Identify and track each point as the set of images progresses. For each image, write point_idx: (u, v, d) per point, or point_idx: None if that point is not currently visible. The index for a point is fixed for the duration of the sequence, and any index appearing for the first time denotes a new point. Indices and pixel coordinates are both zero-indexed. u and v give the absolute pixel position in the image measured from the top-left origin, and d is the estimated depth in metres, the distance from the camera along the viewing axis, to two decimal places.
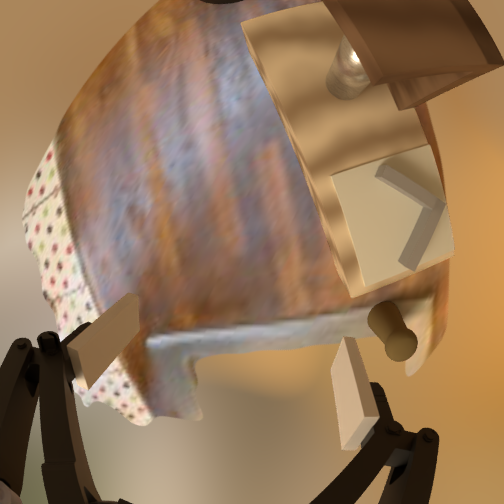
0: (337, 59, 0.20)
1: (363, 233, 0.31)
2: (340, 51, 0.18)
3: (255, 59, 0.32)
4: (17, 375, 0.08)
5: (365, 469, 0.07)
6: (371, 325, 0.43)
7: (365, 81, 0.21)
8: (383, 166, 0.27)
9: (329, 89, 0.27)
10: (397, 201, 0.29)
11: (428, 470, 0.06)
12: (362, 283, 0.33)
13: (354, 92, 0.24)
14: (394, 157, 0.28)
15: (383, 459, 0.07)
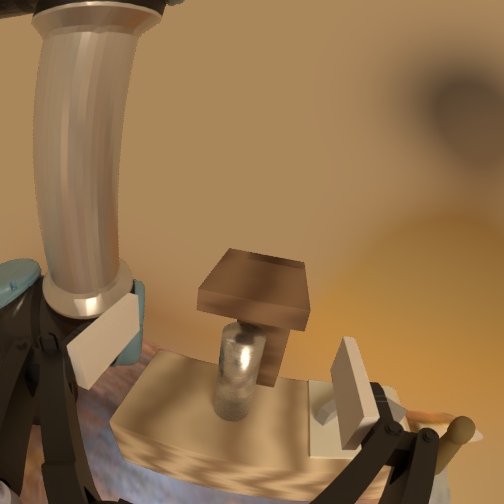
0: (231, 377, 0.27)
1: None
2: (231, 365, 0.26)
3: (142, 455, 0.26)
4: (17, 375, 0.08)
5: (365, 469, 0.07)
6: (438, 469, 0.26)
7: (257, 375, 0.28)
8: (319, 412, 0.29)
9: (231, 418, 0.29)
10: None
11: (428, 470, 0.06)
12: None
13: (251, 398, 0.29)
14: (311, 406, 0.32)
15: (383, 459, 0.07)
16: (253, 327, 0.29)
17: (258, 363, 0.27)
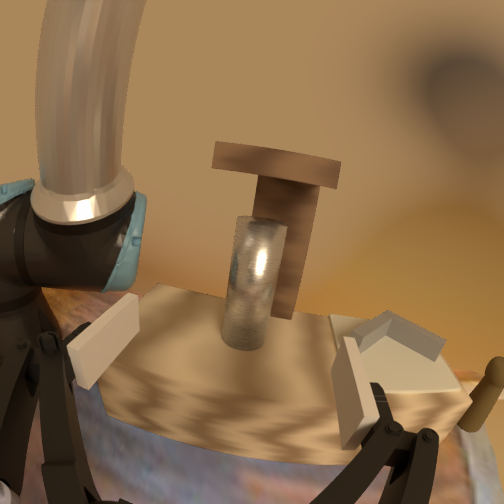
0: (246, 275, 0.23)
1: (411, 380, 0.22)
2: (247, 258, 0.23)
3: (129, 402, 0.22)
4: (17, 375, 0.08)
5: (365, 469, 0.07)
6: (478, 423, 0.23)
7: None
8: None
9: (244, 346, 0.25)
10: (381, 349, 0.27)
11: (428, 470, 0.06)
12: (457, 392, 0.20)
13: (269, 317, 0.26)
14: (337, 338, 0.29)
15: (383, 459, 0.07)
16: (271, 219, 0.25)
17: (279, 258, 0.24)
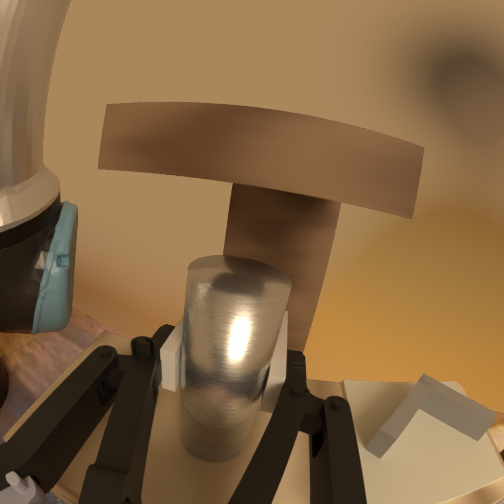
0: (207, 379, 0.11)
1: (451, 481, 0.10)
2: (206, 351, 0.11)
3: (68, 498, 0.10)
4: (89, 385, 0.09)
5: (283, 433, 0.09)
6: None
7: (266, 376, 0.13)
8: (376, 437, 0.14)
9: (212, 458, 0.13)
10: (414, 436, 0.15)
11: (348, 438, 0.08)
12: (501, 480, 0.08)
13: (252, 421, 0.14)
14: (355, 426, 0.17)
15: (297, 420, 0.09)
16: (259, 265, 0.13)
17: (271, 347, 0.12)
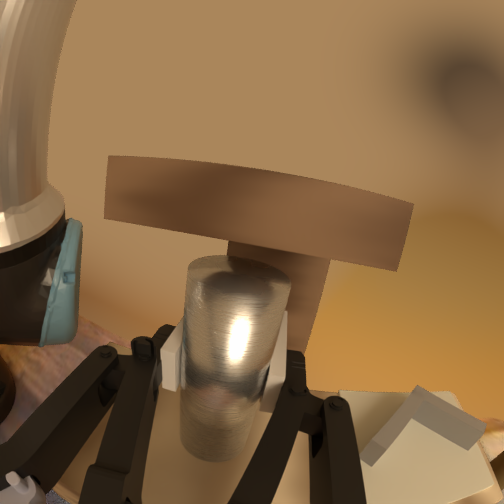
0: (207, 379, 0.11)
1: (440, 489, 0.10)
2: (206, 351, 0.11)
3: (77, 502, 0.11)
4: (90, 385, 0.09)
5: (282, 433, 0.09)
6: None
7: (266, 376, 0.13)
8: (368, 447, 0.15)
9: (212, 458, 0.13)
10: (405, 445, 0.16)
11: (348, 438, 0.08)
12: (489, 488, 0.08)
13: (252, 421, 0.14)
14: None
15: (297, 420, 0.09)
16: (258, 265, 0.13)
17: (271, 347, 0.12)
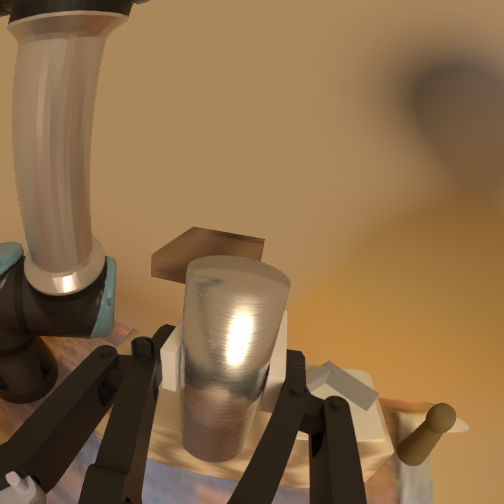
0: (206, 379, 0.11)
1: None
2: (205, 351, 0.11)
3: None
4: (90, 385, 0.09)
5: (282, 433, 0.09)
6: (419, 459, 0.28)
7: (265, 376, 0.13)
8: None
9: (212, 458, 0.13)
10: None
11: (348, 438, 0.08)
12: (381, 441, 0.25)
13: None
14: None
15: (297, 420, 0.09)
16: (258, 265, 0.13)
17: (271, 347, 0.12)
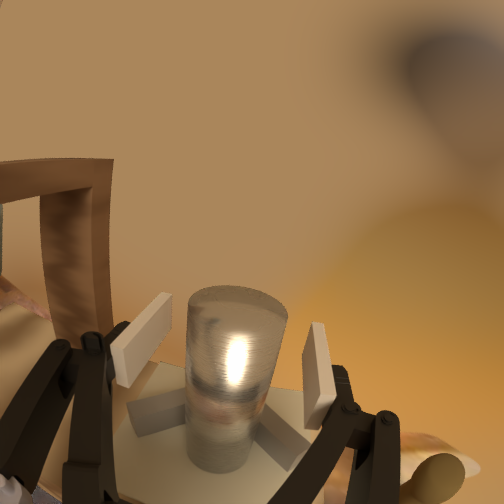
0: (210, 404, 0.11)
1: (206, 500, 0.11)
2: (208, 381, 0.11)
3: None
4: (50, 377, 0.08)
5: (328, 450, 0.08)
6: None
7: (266, 397, 0.13)
8: (128, 411, 0.16)
9: (217, 470, 0.13)
10: None
11: (393, 453, 0.07)
12: None
13: (254, 436, 0.14)
14: None
15: (344, 438, 0.08)
16: (256, 295, 0.13)
17: (270, 374, 0.12)
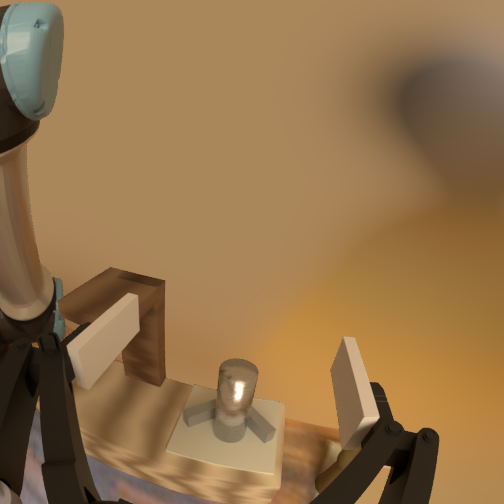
0: (227, 406, 0.29)
1: (224, 456, 0.28)
2: (227, 397, 0.28)
3: None
4: (17, 375, 0.08)
5: (365, 469, 0.07)
6: None
7: (251, 404, 0.30)
8: (183, 414, 0.32)
9: (229, 440, 0.30)
10: None
11: (428, 470, 0.06)
12: (270, 475, 0.26)
13: (247, 423, 0.31)
14: (185, 408, 0.35)
15: (383, 459, 0.07)
16: (246, 363, 0.31)
17: (251, 395, 0.29)
